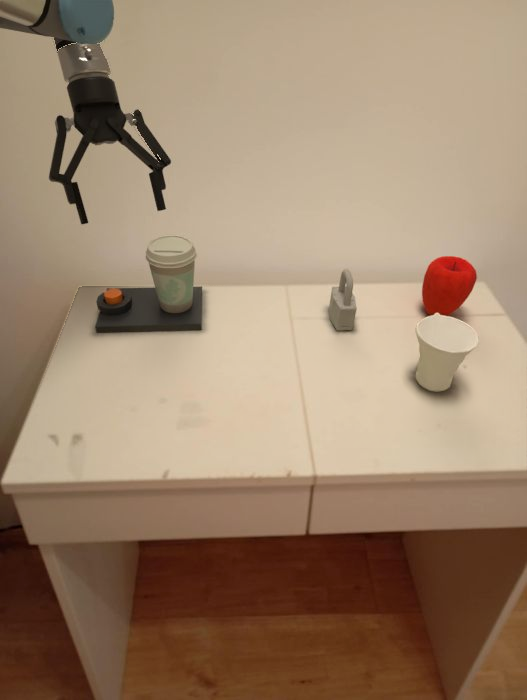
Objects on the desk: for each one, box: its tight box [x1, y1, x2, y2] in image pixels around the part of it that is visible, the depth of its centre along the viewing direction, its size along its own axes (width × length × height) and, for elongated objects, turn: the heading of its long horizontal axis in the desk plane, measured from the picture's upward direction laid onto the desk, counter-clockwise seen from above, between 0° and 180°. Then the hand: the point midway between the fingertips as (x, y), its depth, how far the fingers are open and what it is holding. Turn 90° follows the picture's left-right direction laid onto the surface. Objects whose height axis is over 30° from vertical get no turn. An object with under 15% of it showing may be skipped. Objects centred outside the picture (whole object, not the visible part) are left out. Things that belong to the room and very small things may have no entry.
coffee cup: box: [145, 234, 198, 313], centre depth 82 cm, size 8×9×12 cm
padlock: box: [328, 268, 357, 331], centre depth 83 cm, size 7×4×10 cm, turn 5°
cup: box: [415, 313, 480, 393], centre depth 72 cm, size 9×9×10 cm
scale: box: [95, 286, 203, 334], centre depth 86 cm, size 18×12×3 cm, turn 95°
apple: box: [421, 255, 478, 317], centre depth 86 cm, size 9×9×11 cm
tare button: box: [104, 289, 123, 304], centre depth 84 cm, size 3×3×2 cm
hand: (124, 217), depth 82 cm, fingers open, 13 cm apart
